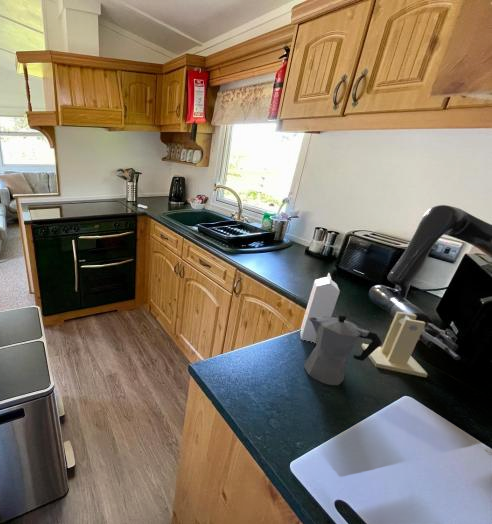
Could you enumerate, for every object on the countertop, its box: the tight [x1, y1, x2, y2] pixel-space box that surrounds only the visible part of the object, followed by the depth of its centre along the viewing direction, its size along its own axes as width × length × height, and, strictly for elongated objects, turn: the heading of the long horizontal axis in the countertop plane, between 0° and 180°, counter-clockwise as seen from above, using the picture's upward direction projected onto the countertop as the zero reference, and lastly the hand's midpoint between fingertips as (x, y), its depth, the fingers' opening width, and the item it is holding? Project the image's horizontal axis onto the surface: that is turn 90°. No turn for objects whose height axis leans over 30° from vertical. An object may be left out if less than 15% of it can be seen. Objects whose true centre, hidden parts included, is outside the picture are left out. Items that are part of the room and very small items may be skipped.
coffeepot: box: [303, 313, 382, 386], centre depth 74 cm, size 15×9×18 cm, turn 58°
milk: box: [299, 272, 341, 344], centre depth 90 cm, size 6×6×22 cm
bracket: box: [361, 312, 429, 378], centre depth 82 cm, size 12×10×15 cm
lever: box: [399, 315, 461, 361], centre depth 80 cm, size 14×9×2 cm, turn 72°
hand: (443, 346), depth 80 cm, fingers open, 4 cm apart
